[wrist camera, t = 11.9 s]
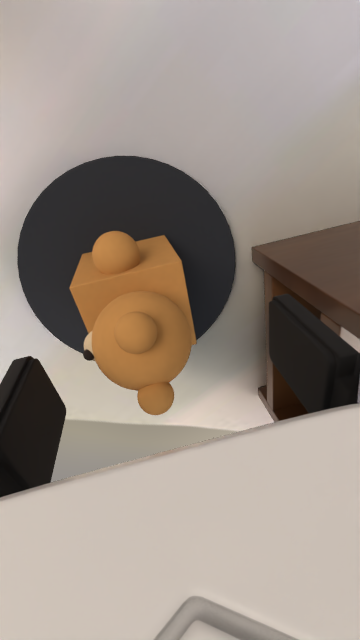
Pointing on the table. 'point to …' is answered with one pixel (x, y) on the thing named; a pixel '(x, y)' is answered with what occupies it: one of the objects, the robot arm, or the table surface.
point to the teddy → (135, 314)
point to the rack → (311, 295)
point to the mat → (128, 217)
